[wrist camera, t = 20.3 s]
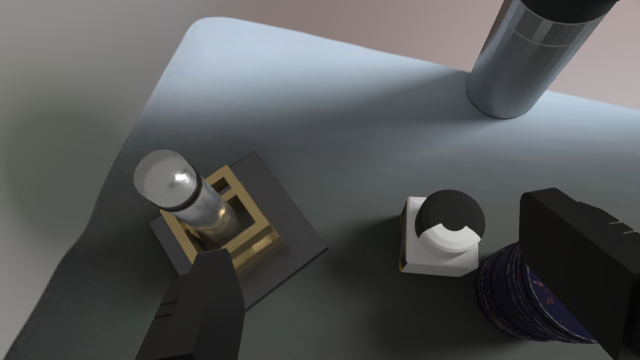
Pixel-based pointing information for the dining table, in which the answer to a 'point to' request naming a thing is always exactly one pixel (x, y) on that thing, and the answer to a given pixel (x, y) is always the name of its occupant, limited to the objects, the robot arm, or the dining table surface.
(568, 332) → the storage jar
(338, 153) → the dining table surface
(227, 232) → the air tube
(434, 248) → the medicine bottle
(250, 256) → the collar stand
